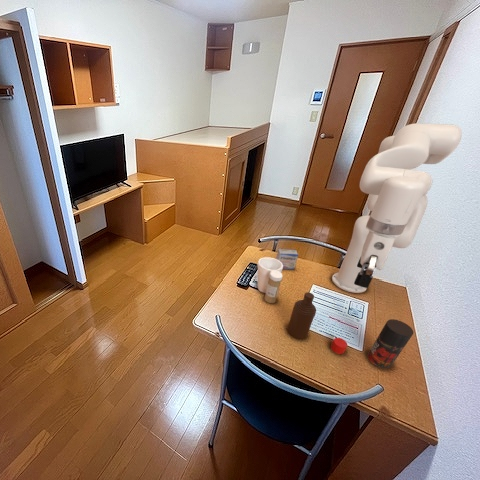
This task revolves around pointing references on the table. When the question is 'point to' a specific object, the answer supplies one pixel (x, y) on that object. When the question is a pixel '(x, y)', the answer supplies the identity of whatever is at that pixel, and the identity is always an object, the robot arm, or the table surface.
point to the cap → (339, 345)
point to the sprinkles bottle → (273, 286)
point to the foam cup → (266, 271)
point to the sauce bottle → (302, 317)
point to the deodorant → (390, 343)
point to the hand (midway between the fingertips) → (361, 276)
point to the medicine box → (287, 258)
